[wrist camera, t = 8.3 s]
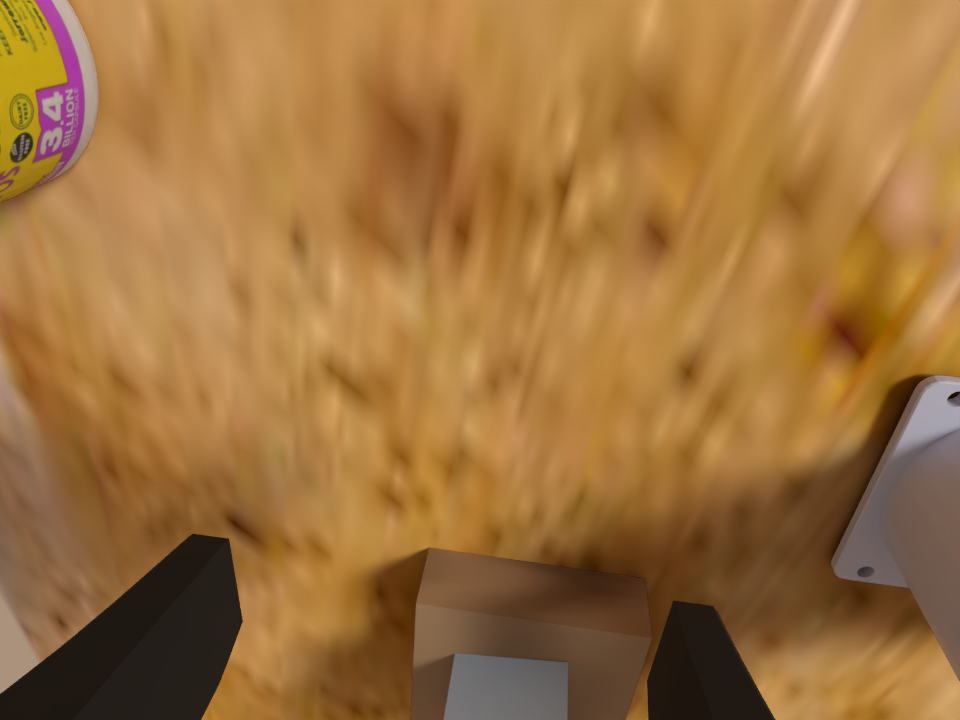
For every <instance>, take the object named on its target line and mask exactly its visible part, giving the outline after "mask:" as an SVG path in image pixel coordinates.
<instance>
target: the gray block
mask: <svg viewBox="0 0 960 720" xmlns="http://www.w3.org/2000/svg"><path fill="white" fill-rule="evenodd" d="M567 709H568V662H556V661H544V660H532V659H520V658H507V657H495V656H483V655H470V654H456V653H455V656H454V662H453V668H452V674H451V679H450V685H449V691H448V697H447V702H446V708H445V714H444V720H567Z"/></svg>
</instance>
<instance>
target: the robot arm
mask: <svg viewBox="0 0 960 720" xmlns="http://www.w3.org/2000/svg"><path fill="white" fill-rule="evenodd" d="M959 391H960V378H958V377H950V376H941V375H939V376H931V377H928V378H925V379H924V380H922V381H921V382H920V383H919V384H918V385H917V386H916V388H915V390H914V392H913V394H912V396H911V398H910V400H909V402H908V404H907V406H906V408H905V410H904V412H903V414H902V416H901V418H900V420H899V422H898V425H897V427H896V429H895V431H894V433H893V435H892V437H891V439H890V441H889V443H888V445H887V447H886V449H885V451H884V453H883V455H882V457H881V460H880V462H879V464H878V466H877V468H876V470H875V472H874V474H873V476H872V478H871V480H870V482H869V484H868V486H867V488H866V490H865V492H864V494H863V497H862V499H861V501H860V503H859V505H858V507H857V509H856V511H855V513H854V515H853V517H852V519H851V521H850V523H849V525H848V527H847V529H846V531H845V534H844V536H843V538H842V540H841V542H840V544H839V546H838V548H837V550H836V552H835V554H834V556H833V558H832V561H831V566H832V568H833V570H834V573H835V575H836V576H838V577H839V578H842V579H847V580H854V581H861V582H869V583H876V584H884V585H891V586H898V587H906V588H909V589H910V591H911V592H912V594H913V596H914V598H915V600H916V602H917V604H918V605H919V607H920V609H921V611H922V613H923V615H924V617H925V618H926V620H927V622H928V624H929V626H930V628H931V629H932V631H933V633H934V635H935V637H936V639H937V641H938V642H939V644H940V646H941V648H942V650H943V652H944V654H945V655H946V657H947V659H948V661H949V663H950V665H951V667H952V668H953V670H954V672H955V674H956V676H957V678H958V679H959V681H960V394H959V395H958V396H957V397H955V398H952V399H947V398H948V397H949V396H950V395H951V394H952V393H954V392H959ZM862 567H865V568H862ZM242 622H243V620H242V614H241V608H240V602H239V596H238V590H237V584H236V578H235V572H234V566H233V560H232V554H231V548H230V542H229V539H226V538H219V537H212V536H205V535H197V534H192V535H191V536H189V537H188V538H187V539H186V540H185V541H183V542H182V543H181V544H180V545H179V546H178V547H176V548H175V549H174V550H173V551H172V552H171V553H170V554H169V555H167V556H166V557H165V558H164V559H163V560H162V561H161V562H159V563H158V564H157V565H156V566H155V567H154V568H153V569H152V570H150V571H149V572H148V573H147V574H146V575H145V576H144V577H143V578H141V579H140V580H139V581H138V582H137V583H136V584H135V585H133V586H132V587H131V588H130V589H129V590H128V591H126V592H125V593H124V594H123V595H122V596H121V597H120V598H118V599H117V600H116V601H115V602H114V603H113V604H111V605H110V606H109V607H108V608H107V609H106V610H104V611H103V612H102V613H101V614H100V615H98V616H97V617H96V618H95V619H94V620H92V621H91V622H90V623H89V624H88V625H86V626H85V627H84V628H83V629H82V630H81V631H79V632H78V633H77V634H76V635H75V636H73V637H72V638H71V639H70V640H69V641H67V642H66V643H65V644H64V645H62V646H61V647H60V648H59V649H57V650H56V651H55V652H54V653H52V654H51V655H50V656H49V657H47V658H46V659H45V660H43V661H42V662H41V663H40V664H38V665H37V666H36V667H34V668H33V669H32V670H31V671H29V672H28V673H27V674H25V675H24V676H23V677H22V678H20V679H19V680H18V681H17V682H15V683H14V684H13V685H11V686H10V687H9V688H8V689H6V690H5V691H4V692H2V693H1V694H0V720H201V719H202V717H203V715H204V713H205V711H206V709H207V707H208V705H209V703H210V701H211V699H212V697H213V695H214V693H215V691H216V689H217V687H218V685H219V683H220V680H221V678H222V675H223V673H224V670H225V667H226V665H227V662H228V660H229V657H230V655H231V652H232V649H233V646H234V644H235V641H236V638H237V635H238V633H239V630H240V627H241V624H242ZM647 688H648V716H649V720H775V718H774V717H773V715H772V713H771V711H770V709H769V708H768V706H767V704H766V702H765V701H764V699H763V697H762V695H761V694H760V692H759V690H758V688H757V686H756V684H755V683H754V681H753V679H752V677H751V675H750V673H749V672H748V670H747V668H746V666H745V664H744V662H743V660H742V659H741V657H740V655H739V653H738V651H737V649H736V647H735V645H734V643H733V641H732V639H731V637H730V635H729V634H728V632H727V630H726V628H725V626H724V624H723V622H722V620H721V618H720V616H719V614H718V612H717V611H716V609H715V608H714V607H713V606H708V605H701V604H693V603H686V602H679V601H673V604H672V607H671V610H670V613H669V616H668V619H667V622H666V625H665V628H664V631H663V634H662V637H661V640H660V643H659V646H658V649H657V652H656V655H655V658H654V661H653V664H652V668H651V671H650V674H649V677H648V680H647Z"/></svg>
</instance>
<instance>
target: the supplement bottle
mask: <svg viewBox="0 0 960 720" xmlns="http://www.w3.org/2000/svg"><path fill="white" fill-rule="evenodd" d="M98 103H99V100H98V80H97V73H96V67H95V62H94V58H93V55H92V51H91V48H90V45H89V43H88V40H87V38H86V35H85V33H84V30H83V28H82V26H81V24H80V22H79V20H78V18H77V16H76V14H75V12H74V10H73V8H72V7H71V5H70V3H69V2H68V0H0V203H1V202H3V201H5V200H8V199H10V198H12V197H15V196H17V195H19V194H22V193H24V192H26V191H28V190H31V189H33V188H35V187H37V186H39V185H41V184H43V183H46V182H48V181H50V180H52V179H54V178H56V177H58V176H59V175H61V174H62V173H63V172H65V171H66V170H68V169H69V168H70V167H71V166H72V165H73V164H74V163H75V162H76V161H77V160H78V158H79V157H80V156H81V155H82V153H83V152H84V150H85V148H86V147H87V145H88V143H89V141H90V138H91V136H92V133H93V130H94V127H95V124H96V120H97V112H98Z"/></svg>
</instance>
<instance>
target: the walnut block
mask: <svg viewBox="0 0 960 720" xmlns="http://www.w3.org/2000/svg"><path fill="white" fill-rule="evenodd" d="M651 641H652V631H651V623H650V615H649V607H648V599H647V591H646V583H645V579H644V578H637V577H630V576H623V575H617V574H610V573H603V572H596V571H589V570H582V569H575V568H568V567H561V566H554V565H547V564H540V563H533V562H526V561H519V560H512V559H505V558H498V557H491V556H484V555H477V554H471V553H464V552H457V551H450V550H443V549H436V548H429V550H428V555H427V559H426V563H425V567H424V572H423V576H422V580H421V584H420V589H419V593H418V597H417V602H416V615H415V635H414V656H413V677H412V698H411V719H410V720H444V714H445V708H446V702H447V697H448V691H449V685H450V679H451V674H452V668H453V662H454V656H455V653H456V654H470V655H483V656H495V657H507V658H520V659H532V660H544V661H556V662H568V709H567V720H625V719H626V716H627V713H628V710H629V707H630V704H631V701H632V698H633V695H634V692H635V689H636V686H637V683H638V680H639V677H640V674H641V671H642V668H643V665H644V662H645V659H646V656H647V653H648V650H649V647H650V644H651Z"/></svg>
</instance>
